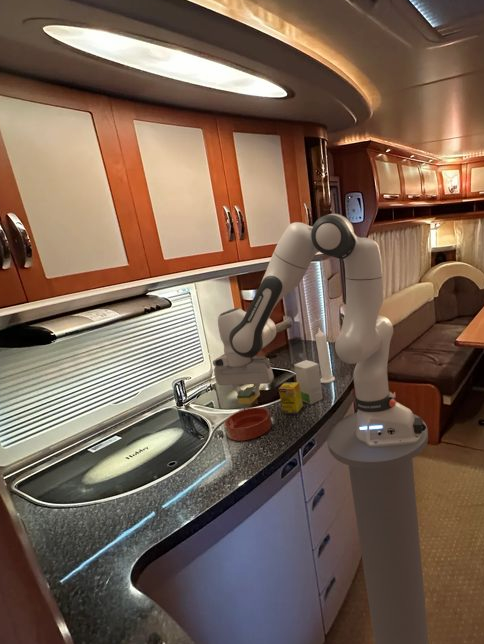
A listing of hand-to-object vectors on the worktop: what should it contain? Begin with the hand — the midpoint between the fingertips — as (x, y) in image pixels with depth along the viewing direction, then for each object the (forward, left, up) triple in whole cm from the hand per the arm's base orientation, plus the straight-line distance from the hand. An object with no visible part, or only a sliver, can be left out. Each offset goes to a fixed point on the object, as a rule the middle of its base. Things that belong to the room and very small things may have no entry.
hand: (248, 395), depth 128 cm
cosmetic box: (-12, -25, -14) cm, 31 cm away
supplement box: (-8, -15, -14) cm, 22 cm away
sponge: (0, 0, -2) cm, 2 cm away
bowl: (+3, -1, -14) cm, 14 cm away
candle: (-13, -44, -14) cm, 48 cm away
